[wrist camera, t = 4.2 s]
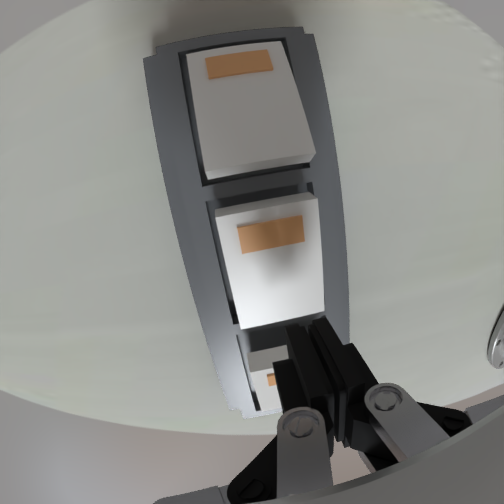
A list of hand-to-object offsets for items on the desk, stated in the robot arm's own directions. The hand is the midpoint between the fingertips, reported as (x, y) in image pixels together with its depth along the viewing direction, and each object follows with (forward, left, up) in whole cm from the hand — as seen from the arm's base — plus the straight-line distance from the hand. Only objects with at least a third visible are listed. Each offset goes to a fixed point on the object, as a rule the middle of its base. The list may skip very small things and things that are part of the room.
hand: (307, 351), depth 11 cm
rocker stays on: (+9, -5, -4) cm, 11 cm away
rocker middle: (+2, -1, -4) cm, 5 cm away
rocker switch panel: (+2, -1, -8) cm, 9 cm away
